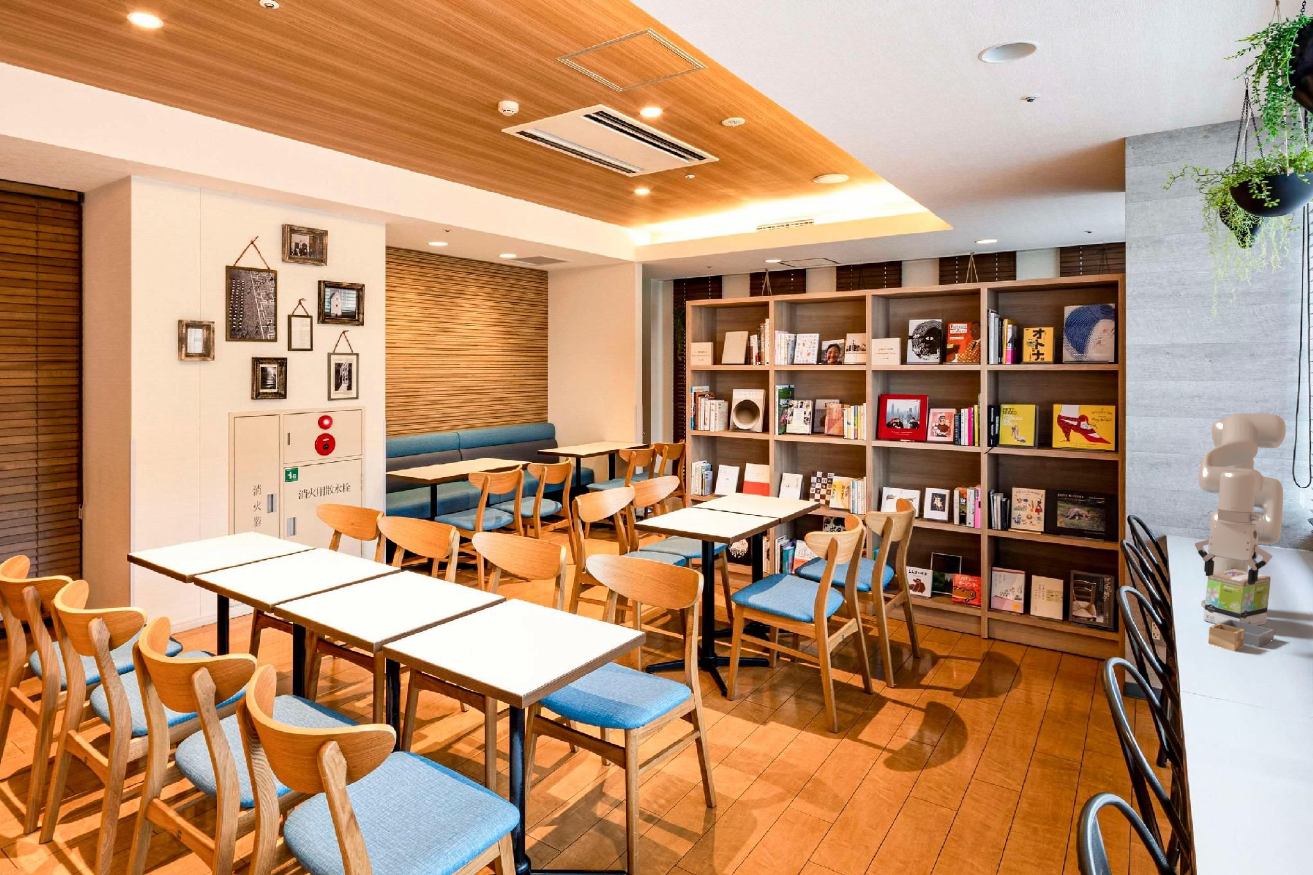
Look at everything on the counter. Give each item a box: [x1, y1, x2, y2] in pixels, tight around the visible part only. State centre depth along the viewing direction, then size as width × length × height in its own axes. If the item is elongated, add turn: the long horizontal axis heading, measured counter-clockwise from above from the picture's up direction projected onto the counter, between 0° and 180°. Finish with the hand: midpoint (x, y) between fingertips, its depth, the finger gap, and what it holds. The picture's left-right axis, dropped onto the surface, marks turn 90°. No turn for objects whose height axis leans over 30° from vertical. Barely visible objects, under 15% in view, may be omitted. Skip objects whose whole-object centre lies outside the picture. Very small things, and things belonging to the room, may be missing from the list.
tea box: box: [1203, 569, 1271, 626], centre depth 226 cm, size 15×10×15 cm
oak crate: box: [1207, 623, 1245, 652], centre depth 207 cm, size 6×6×5 cm
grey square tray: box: [1220, 619, 1275, 648], centre depth 213 cm, size 11×11×3 cm
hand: (1229, 579), depth 205 cm, fingers open, 9 cm apart
